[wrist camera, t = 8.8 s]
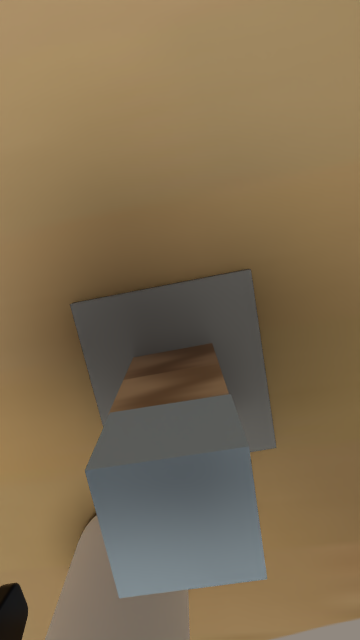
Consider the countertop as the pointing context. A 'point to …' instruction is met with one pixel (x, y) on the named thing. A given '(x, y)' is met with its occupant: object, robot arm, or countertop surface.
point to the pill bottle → (112, 602)
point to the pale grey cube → (177, 497)
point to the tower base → (171, 361)
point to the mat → (181, 340)
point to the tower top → (170, 387)
